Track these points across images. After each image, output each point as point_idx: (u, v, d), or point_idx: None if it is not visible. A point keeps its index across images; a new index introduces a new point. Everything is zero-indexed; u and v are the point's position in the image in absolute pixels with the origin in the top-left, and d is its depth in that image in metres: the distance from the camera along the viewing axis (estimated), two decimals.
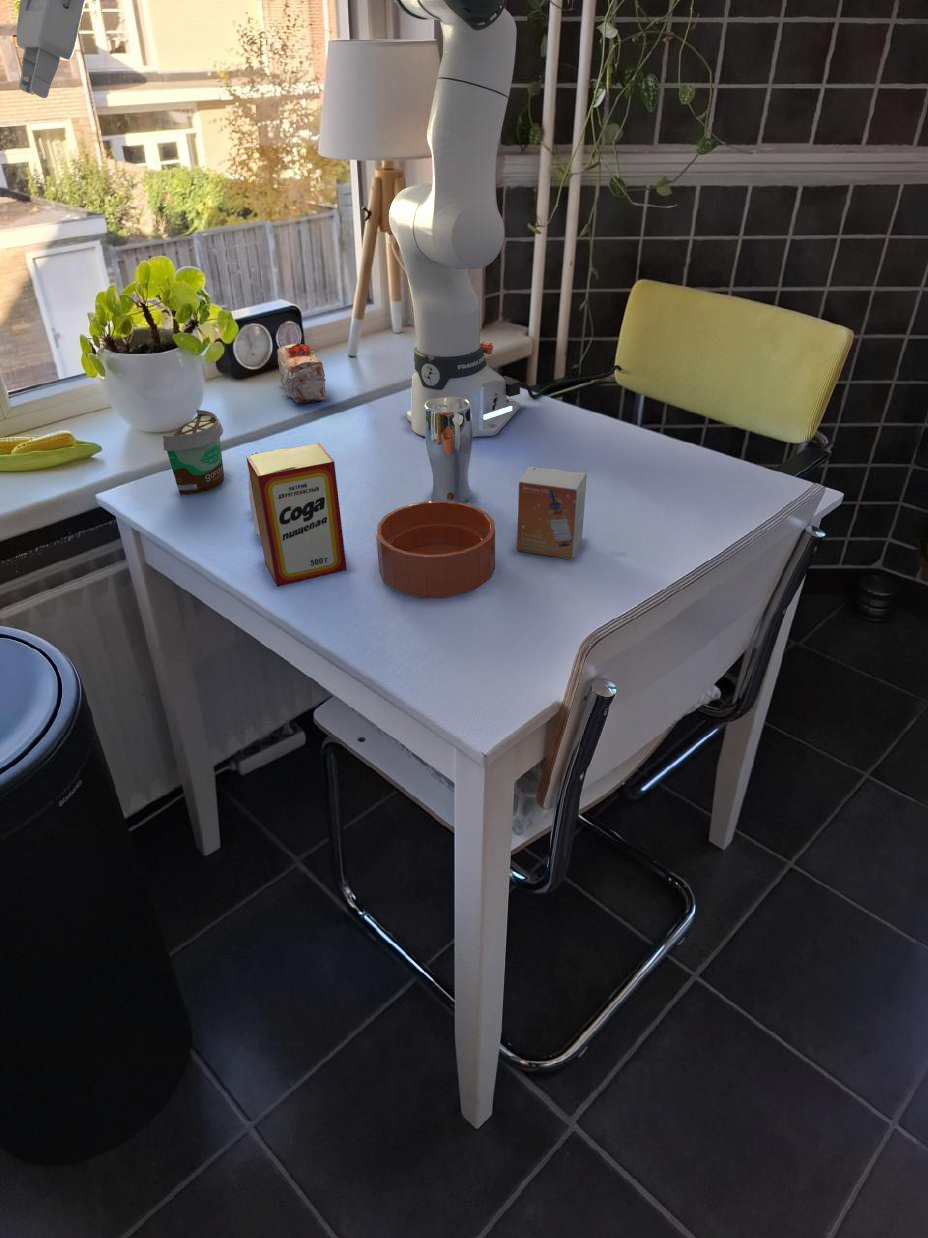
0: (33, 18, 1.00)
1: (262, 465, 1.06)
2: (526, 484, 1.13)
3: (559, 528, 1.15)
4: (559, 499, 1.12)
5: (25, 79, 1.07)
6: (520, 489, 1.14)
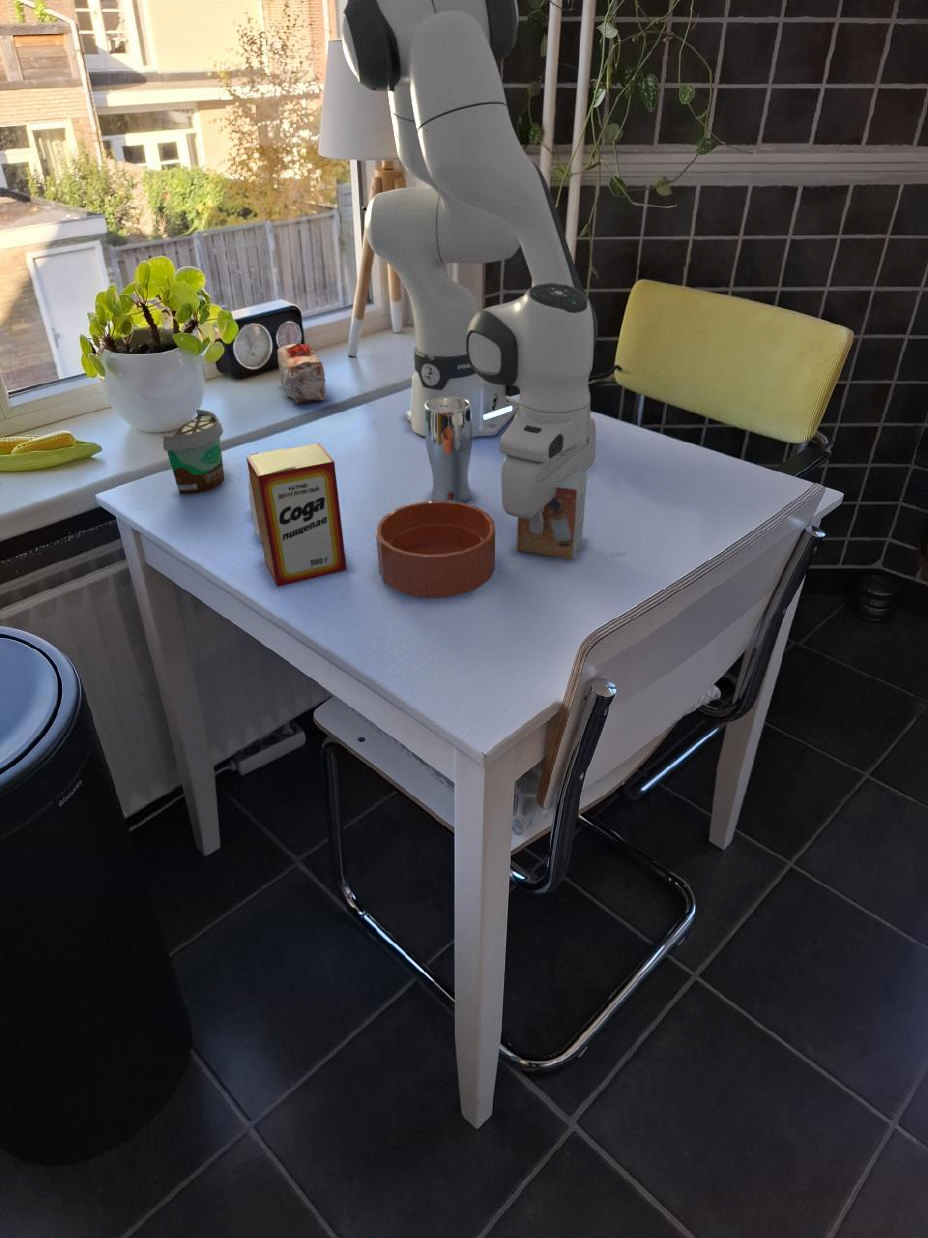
0: (571, 466, 1.14)
1: (262, 465, 1.06)
2: None
3: (559, 528, 1.15)
4: (559, 499, 1.12)
5: None
6: None
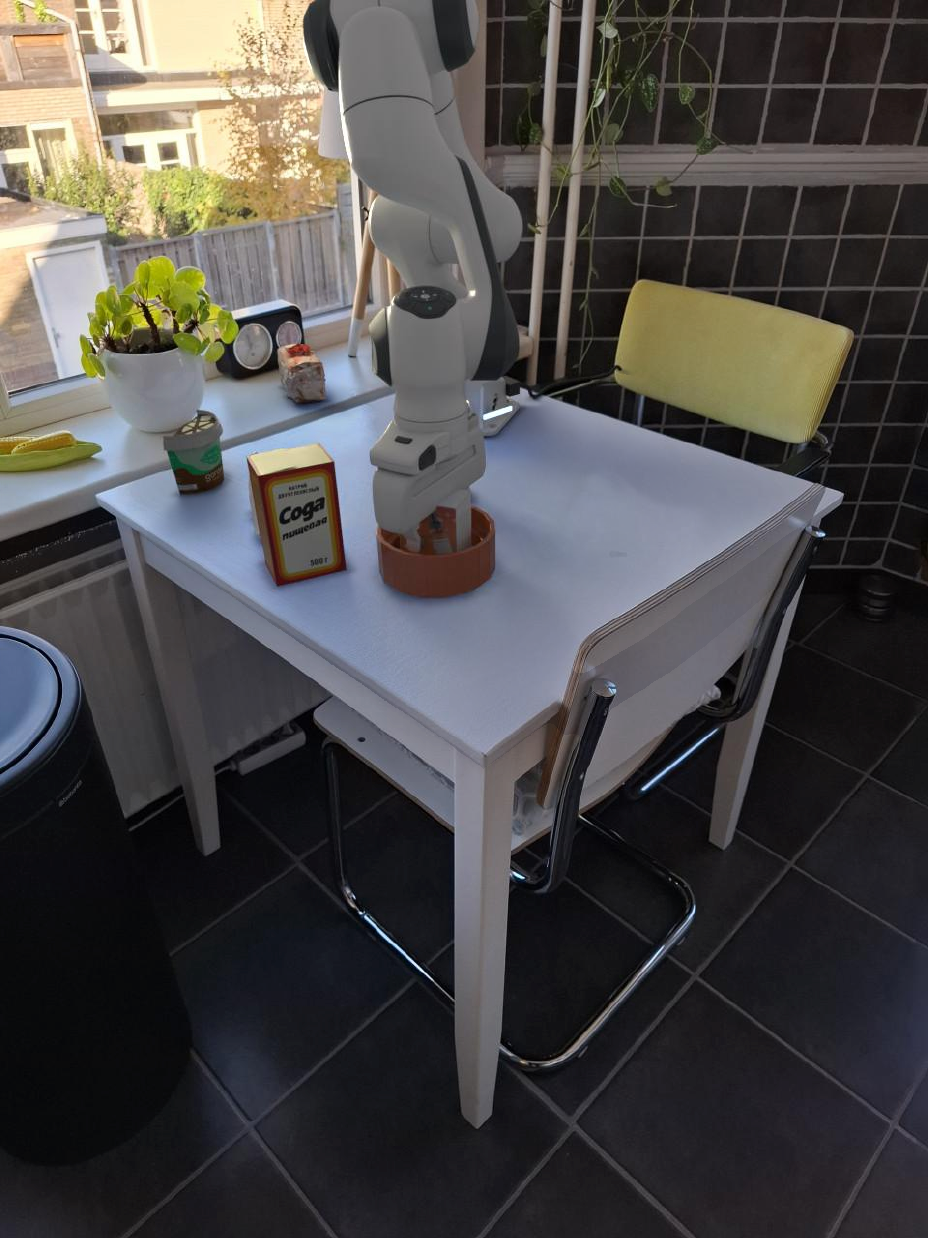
0: (454, 477, 1.09)
1: (262, 465, 1.06)
2: None
3: (442, 548, 1.10)
4: (439, 518, 1.07)
5: None
6: None
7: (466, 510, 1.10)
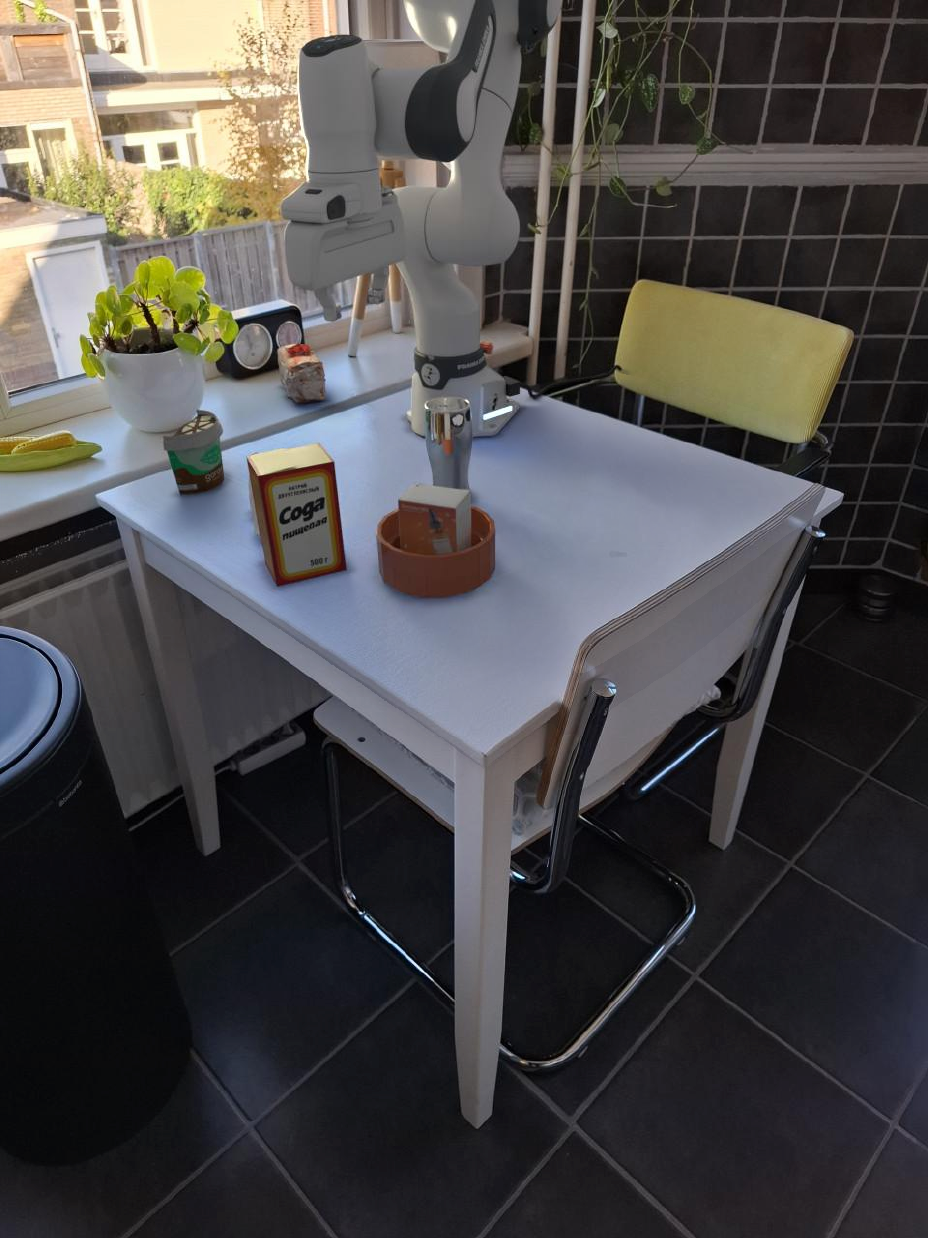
0: (370, 248, 1.10)
1: (261, 465, 1.06)
2: (405, 502, 1.08)
3: (442, 548, 1.10)
4: (439, 518, 1.07)
5: None
6: (399, 507, 1.09)
7: (466, 510, 1.10)
